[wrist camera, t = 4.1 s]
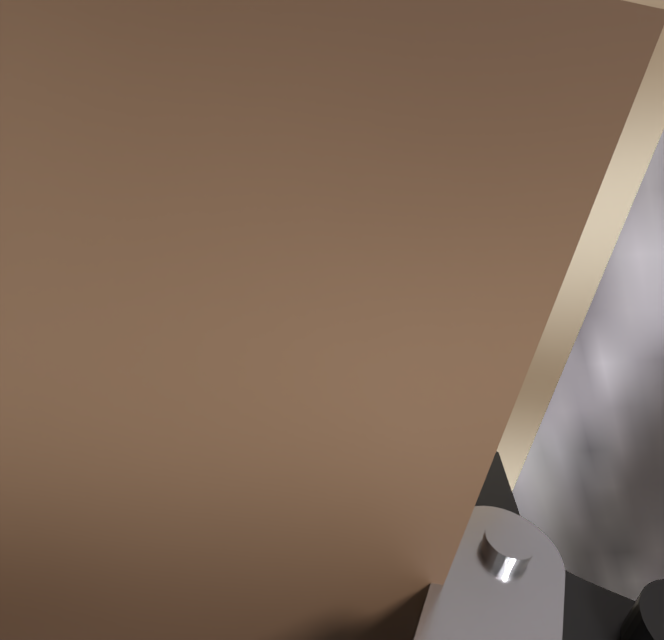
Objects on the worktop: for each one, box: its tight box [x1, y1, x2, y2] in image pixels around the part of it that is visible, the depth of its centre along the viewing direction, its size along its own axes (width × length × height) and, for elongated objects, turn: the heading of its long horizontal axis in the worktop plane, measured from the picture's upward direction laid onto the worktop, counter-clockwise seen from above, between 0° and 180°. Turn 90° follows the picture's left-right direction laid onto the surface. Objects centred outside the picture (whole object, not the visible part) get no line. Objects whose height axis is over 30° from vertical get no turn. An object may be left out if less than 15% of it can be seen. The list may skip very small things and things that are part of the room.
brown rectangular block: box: [0, 0, 664, 640], centre depth 8 cm, size 12×5×5 cm, turn 169°
